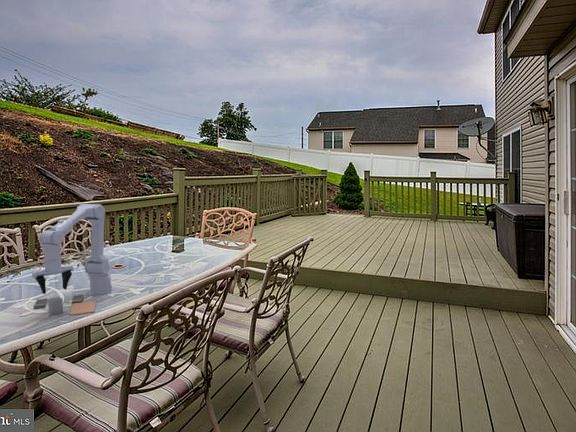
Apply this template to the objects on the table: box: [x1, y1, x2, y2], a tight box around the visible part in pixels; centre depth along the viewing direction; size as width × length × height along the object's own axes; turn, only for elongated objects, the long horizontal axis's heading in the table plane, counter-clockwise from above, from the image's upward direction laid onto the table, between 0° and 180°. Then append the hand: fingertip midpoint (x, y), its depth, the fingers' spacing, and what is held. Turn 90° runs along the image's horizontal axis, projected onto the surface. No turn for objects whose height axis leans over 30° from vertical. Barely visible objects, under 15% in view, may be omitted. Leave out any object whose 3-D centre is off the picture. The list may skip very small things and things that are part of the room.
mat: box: [69, 300, 97, 317], centre depth 154 cm, size 9×13×1 cm
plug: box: [47, 296, 64, 316], centre depth 151 cm, size 4×8×6 cm, turn 51°
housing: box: [33, 294, 84, 310], centre depth 160 cm, size 18×8×2 cm, turn 116°
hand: (54, 291), depth 148 cm, fingers open, 7 cm apart
